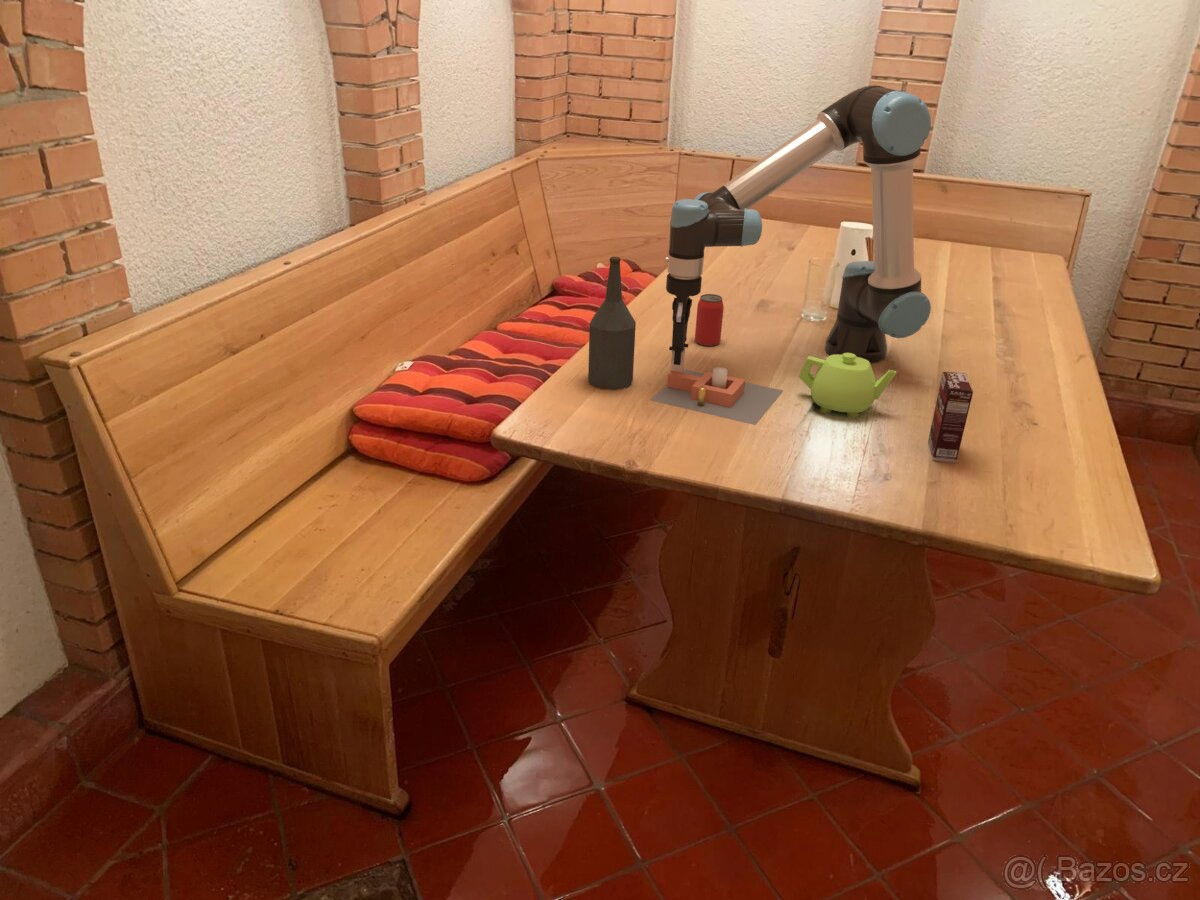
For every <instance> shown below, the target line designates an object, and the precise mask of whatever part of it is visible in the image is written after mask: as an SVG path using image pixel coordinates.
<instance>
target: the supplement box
mask: <svg viewBox="0 0 1200 900" xmlns="http://www.w3.org/2000/svg"><path fill="white" fill-rule="evenodd" d="M968 378H969V377H968V374H967V373H964V372H962V373H961V372H954V371H953V372H952V371H942V373H941V378H940V384H939V388H938V393H937V396H936V397H937V398H936V402H935V407H934V411H933V416H932V420H931V421H932V422H931V426H930V431H929V436H928V440H927V443H928V447H929V450H930V454H931V458H932V461H934V462H935V461H936V462H942V463H943V462H945V463H950V464H951V463H953V464H956V463H957V462H958V458H959V453H960V449H961V445H962V441H963V435H964V432H965V427H966V424H967V419H968V415H969V410H970V407H971V403H972V398H973V394H974V390H973V389H972V387H971V384H970V381H969V379H968Z"/></svg>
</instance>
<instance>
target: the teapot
mask: <svg viewBox="0 0 1200 900" xmlns="http://www.w3.org/2000/svg"><path fill="white" fill-rule="evenodd" d="M812 365H813V366H816V367H817V368H818V370H817V371H816V373H815V375H813V374H812V373H810V371H811V369H812ZM896 375H897V371H896V370H892V369H888V370H887V371H886V372H885V373H884V374H883V375H882V376H881V377H879V379H878V380H877V381H876V378H875V375H874V370H873V368H872V365H871V363H870V362H869V361H868V360H866V359H863V358H860V357H856V355H855V354H852V353H843V354H842V355H828V356H827V357H826V358H825V359H823V358H819V357H815V356H812V355H808V356H807V358H806V359H805V362H804V364H803V366H802V368H801V371H800V372H799V375H798V378H799V379H800V380H801V381H802V383H804V384H805V385H806V387H808V388H809V389H810V395H811V398H812V400H813V402H814V403H815V404H816V405H817V406H819V408H818V411H819V412H820V413H822V414H830V413H831V411H835V412H841V413H847V416H848V418H852V419H857V418H860V414H859V413H864V412H866V411H867V410H869V408H870V407H871V406H872V405H873V404H874V401H875V400H878V399H879V397H880V396H881V395H882V394H883V392H884V391H885V389H886V388H887V387H888V385H890V383H891V381H892V380H893V379H894V378H895V376H896Z"/></svg>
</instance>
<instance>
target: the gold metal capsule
mask: <svg viewBox="0 0 1200 900" xmlns="http://www.w3.org/2000/svg"><path fill="white" fill-rule="evenodd" d="M705 396H706V387H703V386H700V387H699V390H698V401H697V405H698V406H704V405H705Z"/></svg>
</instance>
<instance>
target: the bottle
mask: <svg viewBox="0 0 1200 900" xmlns="http://www.w3.org/2000/svg"><path fill="white" fill-rule="evenodd" d="M621 260H622V258H620V257H619V256H610V258H609V269H608V276H607V281H606V283H607V284H606V290H605V299H604V300H603V302H601V304H600V306H599V308H598V309H597V310H596V312H595V313H594V315H593V316H592V318H591V320H590V321H589V333H588V334H589V335H588V337H589V338H588V374H587V377H588V378H587V379H588V380H587V381H588V384H589V385H590V386H593V387H595V388H597V389H600V390H610V391H616V390H617V391H618V390H623V389H627V388H629V387H631V386H632V384H633V381H634V363H635V360H634V359H635V345H636V325H637V324H636V323H637V322H636V321H635V318H634V317H633V315H632V314H631V311H630V310H629V308H628V307H627V305H626V303H625V302H624V300H623V291H622V274H621V273H622V272H621Z"/></svg>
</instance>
